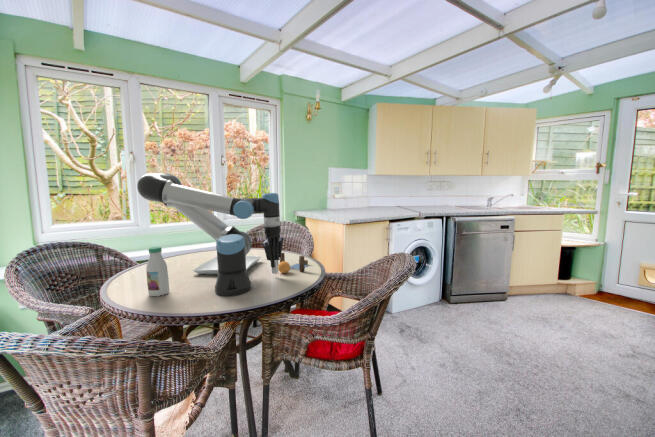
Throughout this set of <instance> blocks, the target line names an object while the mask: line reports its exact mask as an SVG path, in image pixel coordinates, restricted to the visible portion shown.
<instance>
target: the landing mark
mask: <svg viewBox="0 0 655 437" xmlns="http://www.w3.org/2000/svg"><path fill="white" fill-rule="evenodd" d="M308 266H309V264H308V265H304V267H305V268H307V267H308ZM290 269H293V270H299V271H300V269H299V262H298V263H297V262H296V263H294V264H292V265H290Z"/></svg>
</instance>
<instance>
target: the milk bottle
mask: <svg viewBox="0 0 655 437" xmlns="http://www.w3.org/2000/svg"><path fill="white" fill-rule="evenodd" d="M162 249H163V248H162V246H152V247H149V248H148V254H149V258H148V262H147V264H146V268H145V270H146V282H147V283H146V284H147V292H148V296H149V295H150V296H149V297H152V296H157V297H161V296H160V295H162V296H165V295H167V294H169V293H170V281H169V271H168V265H167V262H166V260H165V259H164V257H163V256H162ZM168 292H169V293H168ZM164 294H165V295H164Z"/></svg>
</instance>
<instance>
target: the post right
mask: <svg viewBox="0 0 655 437" xmlns="http://www.w3.org/2000/svg"><path fill="white" fill-rule="evenodd" d="M304 260H305V255H299V257H298V264H299V269H300V270H299V273H305V272H304V271H305V268H306V267H304Z"/></svg>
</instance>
